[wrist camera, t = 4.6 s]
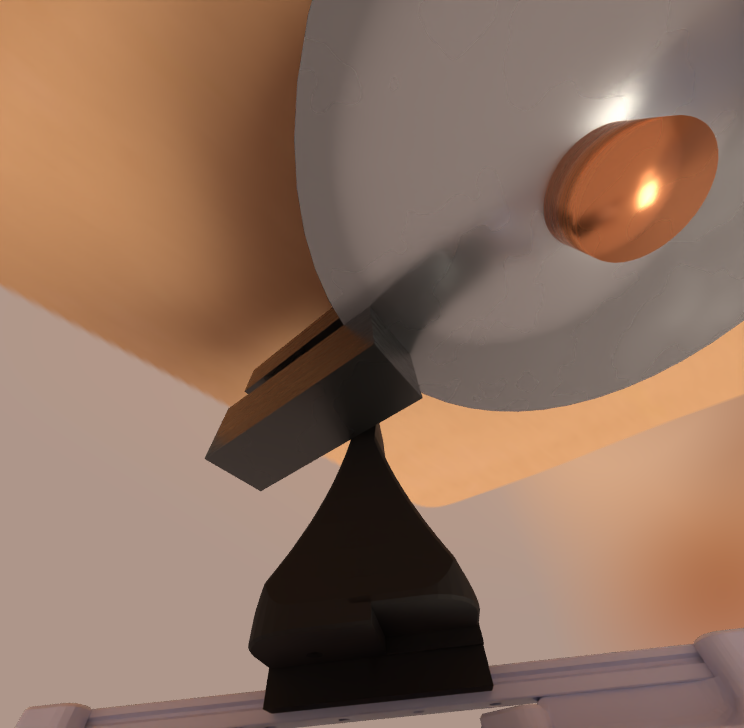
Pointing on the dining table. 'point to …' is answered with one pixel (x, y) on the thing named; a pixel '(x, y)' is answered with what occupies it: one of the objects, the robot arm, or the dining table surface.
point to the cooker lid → (504, 209)
